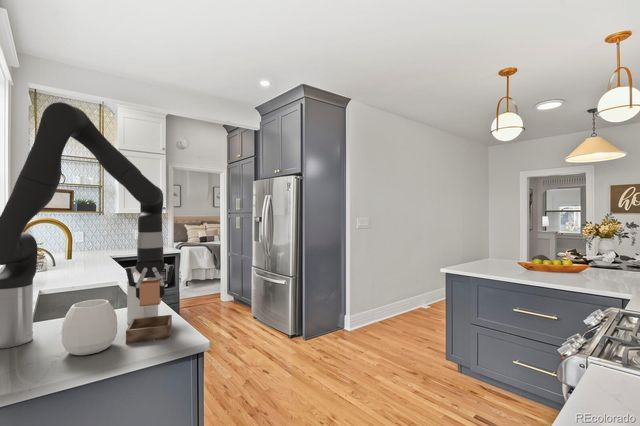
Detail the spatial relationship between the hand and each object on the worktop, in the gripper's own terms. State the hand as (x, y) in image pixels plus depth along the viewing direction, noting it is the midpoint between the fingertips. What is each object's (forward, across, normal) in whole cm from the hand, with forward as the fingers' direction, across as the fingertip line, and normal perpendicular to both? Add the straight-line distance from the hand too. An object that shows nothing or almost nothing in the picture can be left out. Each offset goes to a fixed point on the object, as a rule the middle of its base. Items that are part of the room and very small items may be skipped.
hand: (150, 297), depth 106 cm
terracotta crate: (+2, 0, 0) cm, 2 cm away
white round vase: (+12, -15, -7) cm, 20 cm away
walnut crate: (+12, 0, 0) cm, 12 cm away
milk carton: (+12, -4, +15) cm, 20 cm away
